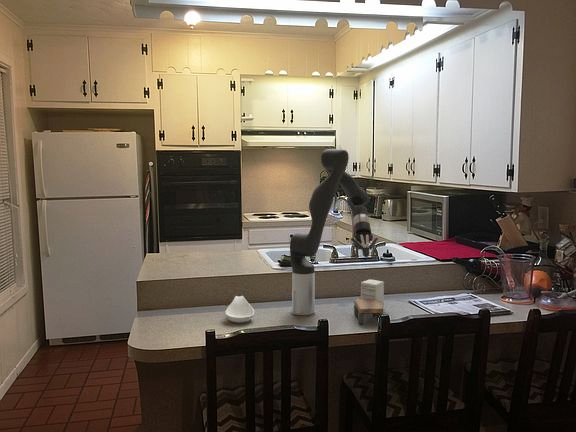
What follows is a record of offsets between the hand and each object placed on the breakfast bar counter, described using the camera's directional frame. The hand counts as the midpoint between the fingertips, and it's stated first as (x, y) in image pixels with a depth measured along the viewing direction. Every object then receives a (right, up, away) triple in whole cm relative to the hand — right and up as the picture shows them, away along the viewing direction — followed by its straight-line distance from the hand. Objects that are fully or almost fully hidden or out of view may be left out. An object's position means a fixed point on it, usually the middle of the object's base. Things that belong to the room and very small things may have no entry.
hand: (366, 256), depth 220 cm
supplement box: (+1, -23, -11) cm, 25 cm away
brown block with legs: (-3, -24, -23) cm, 33 cm away
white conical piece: (-55, -24, -17) cm, 62 cm away
